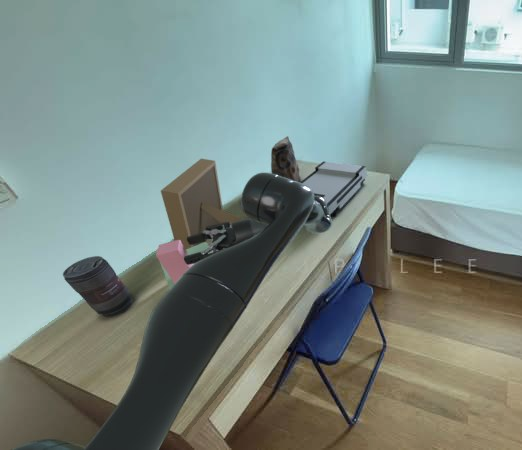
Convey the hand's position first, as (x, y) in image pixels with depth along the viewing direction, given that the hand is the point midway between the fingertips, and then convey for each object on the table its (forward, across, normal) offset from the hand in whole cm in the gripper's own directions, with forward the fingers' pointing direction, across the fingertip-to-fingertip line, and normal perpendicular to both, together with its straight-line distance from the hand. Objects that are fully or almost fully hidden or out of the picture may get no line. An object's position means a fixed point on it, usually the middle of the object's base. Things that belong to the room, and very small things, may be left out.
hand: (186, 250), depth 76 cm
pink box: (+3, 0, +8) cm, 8 cm away
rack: (+3, -5, +16) cm, 17 cm away
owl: (-30, -58, +16) cm, 68 cm away
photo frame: (-2, -27, +16) cm, 31 cm away
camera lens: (+23, -7, +16) cm, 29 cm away
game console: (-43, -36, +16) cm, 58 cm away
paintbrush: (-14, -42, +13) cm, 46 cm away
